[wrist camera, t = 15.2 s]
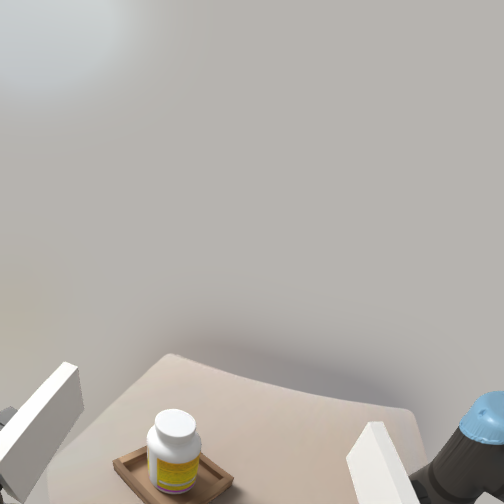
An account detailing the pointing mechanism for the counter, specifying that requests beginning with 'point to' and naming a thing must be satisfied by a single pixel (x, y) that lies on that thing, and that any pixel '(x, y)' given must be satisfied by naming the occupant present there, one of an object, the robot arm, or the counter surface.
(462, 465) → the robot arm
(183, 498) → the walnut tray
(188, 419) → the supplement bottle
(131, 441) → the counter surface
